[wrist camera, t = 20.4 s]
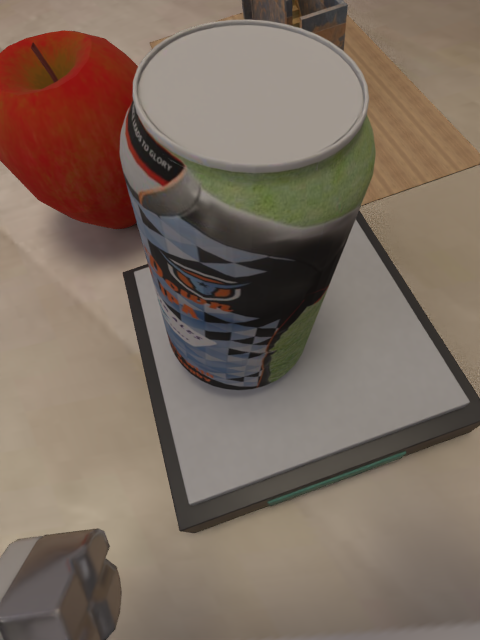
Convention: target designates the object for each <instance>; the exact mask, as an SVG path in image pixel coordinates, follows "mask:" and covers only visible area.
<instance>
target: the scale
mask: <svg viewBox="0 0 480 640" xmlns="http://www.w3.org/2000/svg"><path fill="white" fill-rule="evenodd" d="M123 276H124V281H125V285H126V290H127V294H128V299H129V304H130V308H131V313H132V317H133V322H134V326H135V331H136V335H137V340H138V344H139V349H140V353H141V358H142V362H143V367H144V371H145V376H146V381H147V385H148V390H149V394H150V399H151V403H152V408H153V412H154V417H155V421H156V426H157V430H158V435H159V439H160V444H161V449H162V453H163V458H164V462H165V467H166V471H167V476H168V480H169V485H170V489H171V494H172V498H173V503H174V507H175V512H176V516H177V521H178V526H179V530H180V531H183V532H190V533H196V532H199V531H201V530H204V529H207V528H209V527H212V526H215V525H218V524H220V523H223V522H226V521H229V520H231V519H234V518H237V517H239V516H242V515H245V514H248V513H250V512H253V511H256V510H259V509H261V508H264V507H267V506H272V505H275V504H277V503H280V502H283V501H285V500H288V499H291V498H294V497H296V496H299V495H302V494H305V493H307V492H310V491H313V490H315V489H318V488H321V487H324V486H326V485H329V484H332V483H335V482H337V481H340V480H343V479H345V478H348V477H351V476H354V475H356V474H359V473H362V472H365V471H367V470H370V469H373V468H375V467H378V466H381V465H384V464H386V463H389V462H392V461H395V460H397V459H400V458H402V457H403V456H406V455H409V454H411V453H414V452H417V451H419V450H422V449H425V448H428V447H430V446H433V445H436V444H439V443H441V442H444V441H447V440H449V439H452V438H455V437H458V436H460V435H463V434H466V433H469V432H471V431H472V430H474V429H475V428H477V427H478V426H480V398H479V397H478V395H477V394H476V392H475V390H474V389H473V387H472V386H471V384H470V383H469V381H468V379H467V378H466V376H465V375H464V373H463V372H462V370H461V369H460V367H459V365H458V364H457V362H456V361H455V359H454V358H453V356H452V354H451V353H450V351H449V350H448V348H447V347H446V345H445V344H444V342H443V340H442V339H441V337H440V336H439V334H438V333H437V331H436V329H435V328H434V326H433V325H432V323H431V322H430V320H429V319H428V317H427V315H426V314H425V312H424V311H423V309H422V308H421V306H420V305H419V303H418V301H417V300H416V298H415V297H414V295H413V294H412V292H411V290H410V289H409V287H408V286H407V284H406V283H405V281H404V280H403V278H402V276H401V275H400V273H399V272H398V270H397V269H396V267H395V265H394V264H393V262H392V261H391V259H390V258H389V256H388V255H387V253H386V251H385V250H384V248H383V247H382V245H381V244H380V242H379V241H378V239H377V237H376V236H375V234H374V233H373V231H372V230H371V228H370V226H369V225H368V223H367V222H366V220H365V219H364V217H363V216H362V214H361V212H360V211H359V212H358V214H357V217H356V219H355V222H354V224H353V227H352V229H351V232H350V234H349V237H348V239H347V242H346V244H345V247H344V249H343V252H342V255H341V257H340V260H339V262H338V265H337V267H336V270H335V272H334V275H333V277H332V280H331V282H330V285H329V287H328V290H327V292H326V295H325V297H324V300H323V302H322V305H321V307H320V310H319V312H318V315H317V318H316V320H315V323H314V325H313V328H312V330H311V333H310V335H309V338H308V340H307V343H306V345H305V348H304V350H303V353H302V355H301V356H300V358H299V360H298V361H297V363H296V364H295V365H294V366H293V367H292V368H291V369H290V370H289V371H288V372H287V373H286V374H285V375H284V376H282V377H281V378H279V379H278V380H276V381H274V382H272V383H270V384H268V385H266V386H262V387H258V388H255V389H248V390H229V389H223V388H219V387H215V386H212V385H210V384H207V383H205V382H203V381H201V380H199V379H198V378H196V377H195V376H193V375H192V374H190V373H189V372H188V371H187V370H186V369H185V368H184V367H183V366H182V365H181V363H180V362H179V360H178V359H177V358H176V356H175V354H174V352H173V350H172V348H171V345H170V342H169V338H168V335H167V331H166V328H165V324H164V320H163V317H162V313H161V309H160V306H159V302H158V298H157V295H156V291H155V287H154V284H153V280H152V276H151V273H150V269H149V265H148V264H146V265H143V266H140V267H138V268H135V269H132V270H129V271H126V272H123Z"/></svg>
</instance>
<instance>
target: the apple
mask: <svg viewBox="0 0 480 640" xmlns="http://www.w3.org/2000/svg"><path fill="white" fill-rule="evenodd" d="M137 68H138V66H137V65H136V64H135V63H134V62H133V61H132V60H131V59H130V58H129V57H128V56H127V55H126V54H125V53H123V52H122V51H121V50H119V49H118V48H117V47H115V46H114V45H113V44H111V43H110V42H109V41H107V40H106V39H104V38H100V37H96V36H92V35H88V34H84V33H80V32H76V31H57V32H51V33H46V34H42V35H38V36H34V37H30V38H26V39H24V40H21V41H19V42H17V43H15V44H12V45H10V46H8V47H7V48H6V49H4V50H3V51H2V52H1V53H0V161H1V162H2V163H3V164H4V165H5V166H6V167H7V168H8V169H9V170H10V171H11V172H12V173H13V174H14V175H15V176H16V177H17V178H18V179H19V180H20V181H21V182H22V184H23V185H24V186H25V187H26V188H27V189H28V190H29V191H30V192H31V193H32V194H33V195H34V196H35V197H36V198H37V199H38V200H39V201H41V202H43V203H45V204H46V205H48V206H50V207H52V208H54V209H56V210H57V211H59V212H61V213H63V214H65V215H67V216H69V217H71V218H73V219H75V220H78V221H81V222H84V223H89V224H93V225H97V226H101V227H107V228H113V229H122V228H127V227H130V226H133V225H134V224H135V223H137V221H136V218H135V214H134V210H133V207H132V203H131V199H130V196H129V192H128V188H127V185H126V181H125V177H124V174H123V169H122V164H121V160H120V134H121V129H122V126H123V123H124V120H125V116H126V114H127V111H128V109H129V107H130V105H131V103H132V101H133V80H134V77H135V74H136V71H137Z"/></svg>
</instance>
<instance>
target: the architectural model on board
mask: <svg viewBox="0 0 480 640" xmlns="http://www.w3.org/2000/svg"><path fill="white" fill-rule="evenodd" d="M347 6H348V5H347V4H346V3H345V2H344V1H343V0H242V7H243V13H240V14H237V15H234V16H231V17H228V18H225V19H221V20H218V21H225V20H248V19H249V20H263V21H271V22H277V23H283V24H287V25H291V26H294V27H298V28H301V29H304V30H307V31H309V32H312V33H314V34H317V35H319V36H321V37H323V38H324V39H326V40H328V41H330V42H332V43H333V44H335V45H336V46H337V47H339V48H340V49H342V50H343V51H344V52H345V53H346V54H347V55H348V56H349V57H350V58H351V59H352V60H353V61H354V62H355V63H356V64H357V66H358V67H359V69H360V70H361V72H362V73H363V76H364V78H365V81H366V83H367V86H368V94H369V103H368V110H367V116H368V118H369V121H370V124H371V126H372V129H373V134H374V142H375V150H376V156H375V164H374V171H373V176H372V179H371V181H370V184H369V186H368V189H367V191H366V194H365V197H364V199H363V202H362V204H361V205H364V204H367V203H369V202H372V201H375V200H378V199H381V198H384V197H387V196H389V195H392V194H395V193H398V192H401V191H404V190H407V189H409V188H412V187H415V186H418V185H421V184H424V183H427V182H429V181H432V180H435V179H438V178H441V177H444V176H447V175H450V174H452V173H455V172H458V171H461V170H464V169H467V168H470V167H472V166H475V165H478V164H480V153H479V152H478V151H477V150H476V149H475V148H474V147H473V146H472V145H471V144H470V143H469V142H468V141H467V140H466V139H465V138H464V137H463V136H462V134H461V133H460V132H459V131H458V130H457V129H456V128H455V127H454V126H453V125H452V124H451V123H450V122H449V121H448V120H447V119H446V118H445V117H444V116H443V115H442V113H441V112H440V111H439V110H438V109H437V108H436V107H435V106H434V105H433V104H432V103H431V102H430V101H429V100H428V99H427V98H426V97H425V96H424V95H423V94H422V93H421V91H420V90H419V89H418V88H417V87H416V86H415V85H414V84H413V83H412V82H411V81H410V80H409V79H408V78H407V77H406V76H405V75H404V74H403V73H402V72H401V70H400V69H399V68H398V67H397V66H396V65H395V64H394V63H393V62H392V61H391V60H390V59H389V58H388V57H387V56H386V55H385V54H384V53H383V52H382V51H381V50H380V48H379V47H378V46H377V45H376V44H375V43H374V42H373V41H372V40H371V39H370V38H369V37H368V36H367V35H366V34H365V33H364V32H363V31H362V30H361V29H360V27H359V26H358V25H357V24H356V23H355V22H354V21H353V20H352V19H351V18H350V17H349V16H348V15H347ZM215 22H217V21H215ZM169 37H170V36H169ZM166 38H168V37H166ZM166 38H163V39H159V40H156V41H153V42H150V45H151V47H152V49H153V48H154V47H155V46H156V45H158V44H159V43H161V42H162V41H164V40H165V39H166Z"/></svg>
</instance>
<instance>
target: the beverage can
mask: <svg viewBox="0 0 480 640" xmlns="http://www.w3.org/2000/svg"><path fill="white" fill-rule="evenodd" d="M368 103H369V94H368V86H367V83H366V81H365V78H364V76H363V73H362V72H361V70H360V69H359V67H358V66H357V64H356V63H355V62H354V61H353V60H352V59H351V58H350V57H349V56H348V55H347V54H346V53H345V52H344V51H343V50H342V49H340V48H339V47H337V46H336V45H335V44H333V43H332V42H330V41H328V40H326V39H324V38H323V37H321V36H319V35H317V34H314V33H312V32H309V31H307V30H304V29H301V28H298V27H294V26H291V25H287V24H283V23H277V22H271V21H263V20H249V19H248V20H225V21H217V22H211V23H206V24H202V25H198V26H194V27H191V28H189V29H186V30H183V31H180V32H178V33H176V34H174V35H172V36H170V37H168V38H166V39H165V40H164V41H162V42H161V43H159V44H158V45H156V46H155V47H154V48H153V49H152V50H151V51H150V52H149V53H148V54H147V55H146V56H145V57H144V58H143V60H142V62H141V63H140V65H139V66H138V68H137V71H136V74H135V77H134V80H133V101H132V103H131V105H130V107H129V109H128V111H127V114H126V116H125V120H124V123H123V126H122V129H121V134H120V160H121V164H122V169H123V174H124V177H125V181H126V185H127V188H128V192H129V196H130V199H131V203H132V207H133V210H134V214H135V218H136V221H137V225H138V229H139V232H140V236H141V240H142V243H143V247H144V251H145V254H146V258H147V262H148V265H149V269H150V273H151V276H152V280H153V284H154V287H155V291H156V295H157V298H158V302H159V306H160V309H161V313H162V317H163V320H164V324H165V328H166V331H167V335H168V338H169V342H170V345H171V348H172V350H173V352H174V354H175V356H176V358H177V359H178V360H179V362H180V363H181V365H182V366H183V367H184V368H185V369H186V370H187V371H188V372H189V373H190V374H192V375H193V376H195V377H196V378H198V379H199V380H201V381H203V382H205V383H207V384H210V385H212V386H215V387H219V388H223V389H229V390H248V389H255V388H258V387H262V386H266V385H268V384H270V383H272V382H274V381H276V380H278V379H279V378H281V377H282V376H284V375H285V374H286V373H287V372H288V371H289V370H290V369H291V368H292V367H293V366H294V365H295V364H296V363H297V361H298V360H299V358H300V356H301V355H302V353H303V350H304V348H305V345H306V343H307V340H308V338H309V335H310V333H311V330H312V328H313V325H314V323H315V320H316V318H317V315H318V312H319V310H320V307H321V305H322V302H323V300H324V297H325V295H326V292H327V290H328V287H329V285H330V282H331V280H332V277H333V275H334V272H335V270H336V267H337V265H338V262H339V260H340V257H341V255H342V252H343V249H344V247H345V244H346V242H347V239H348V237H349V234H350V232H351V229H352V227H353V224H354V222H355V219H356V217H357V214H358V212H359V209H360V207H361V204H362V202H363V199H364V197H365V194H366V191H367V189H368V186H369V184H370V181H371V179H372V176H373V171H374V164H375V156H376V150H375V142H374V134H373V129H372V126H371V124H370V121H369V118H368V116H367V110H368Z"/></svg>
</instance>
